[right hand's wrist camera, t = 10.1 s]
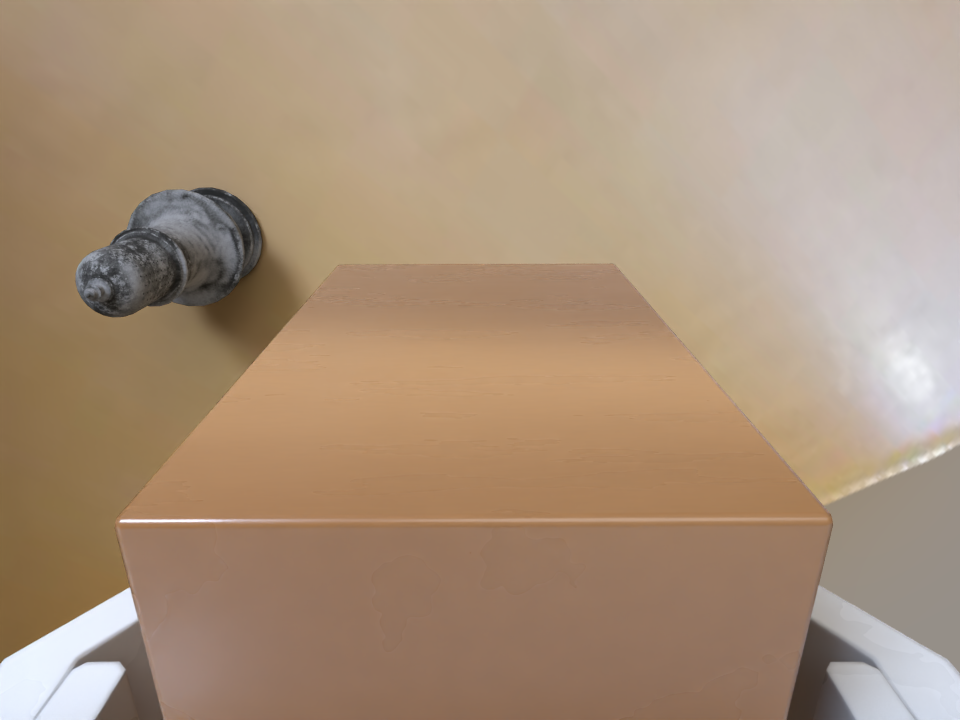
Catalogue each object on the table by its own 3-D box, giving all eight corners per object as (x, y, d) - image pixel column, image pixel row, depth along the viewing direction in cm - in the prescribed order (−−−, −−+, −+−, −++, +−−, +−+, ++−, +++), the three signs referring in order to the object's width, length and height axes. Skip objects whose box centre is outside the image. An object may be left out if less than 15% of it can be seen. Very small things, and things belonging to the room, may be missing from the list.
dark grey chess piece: (286, 225, 35) (191, 279, 24) (235, 308, 37) (124, 395, 26) (190, 158, 34) (42, 183, 23) (142, 247, 36) (-17, 311, 25)
